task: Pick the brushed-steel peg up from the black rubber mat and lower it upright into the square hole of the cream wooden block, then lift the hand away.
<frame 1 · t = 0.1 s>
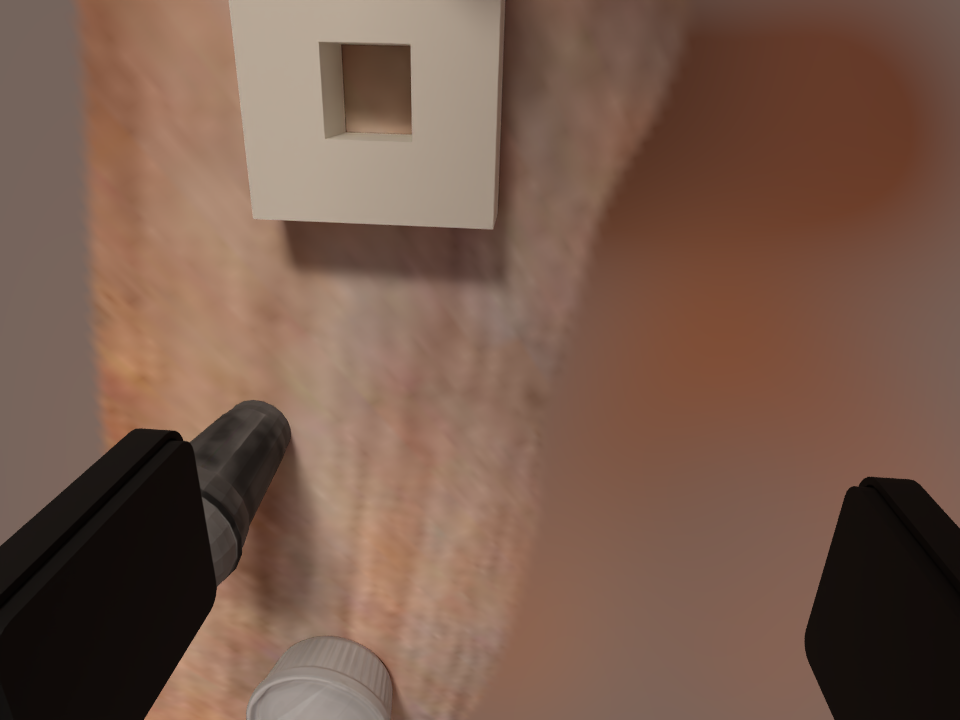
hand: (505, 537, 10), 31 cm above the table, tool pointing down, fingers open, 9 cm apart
hole block: (383, 90, 37), on the table
ramekin: (337, 672, 56), on the table
beverage cup: (259, 427, 46), on the table
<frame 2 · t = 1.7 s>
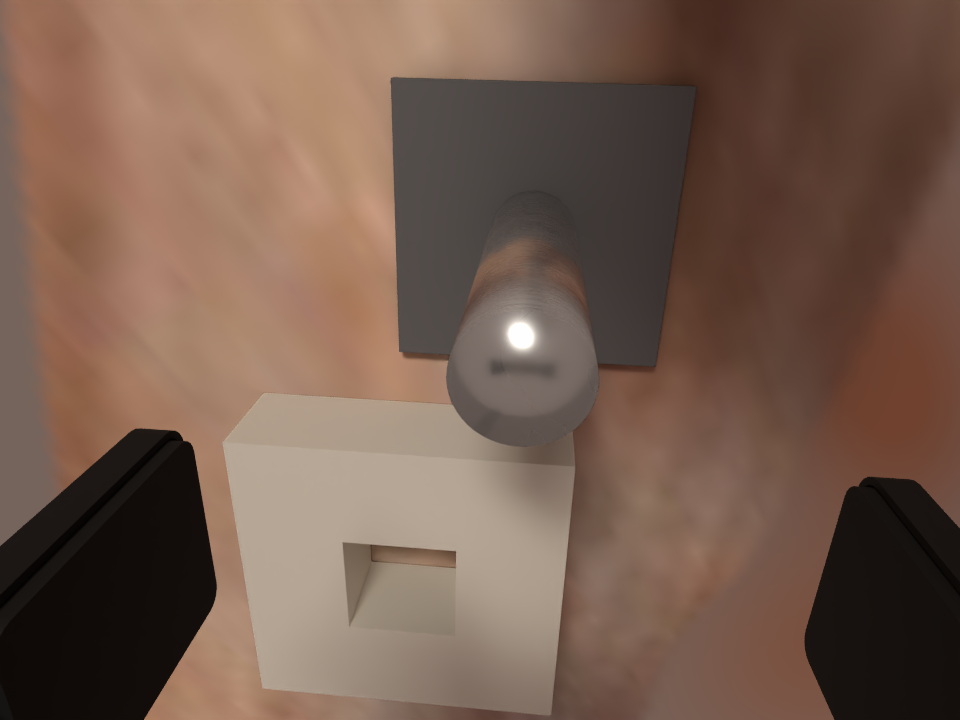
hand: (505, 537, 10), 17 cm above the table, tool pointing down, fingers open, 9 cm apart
hole block: (417, 527, 31), on the table
peg: (532, 232, 24), resting on mat
mat: (533, 229, 24), on the table
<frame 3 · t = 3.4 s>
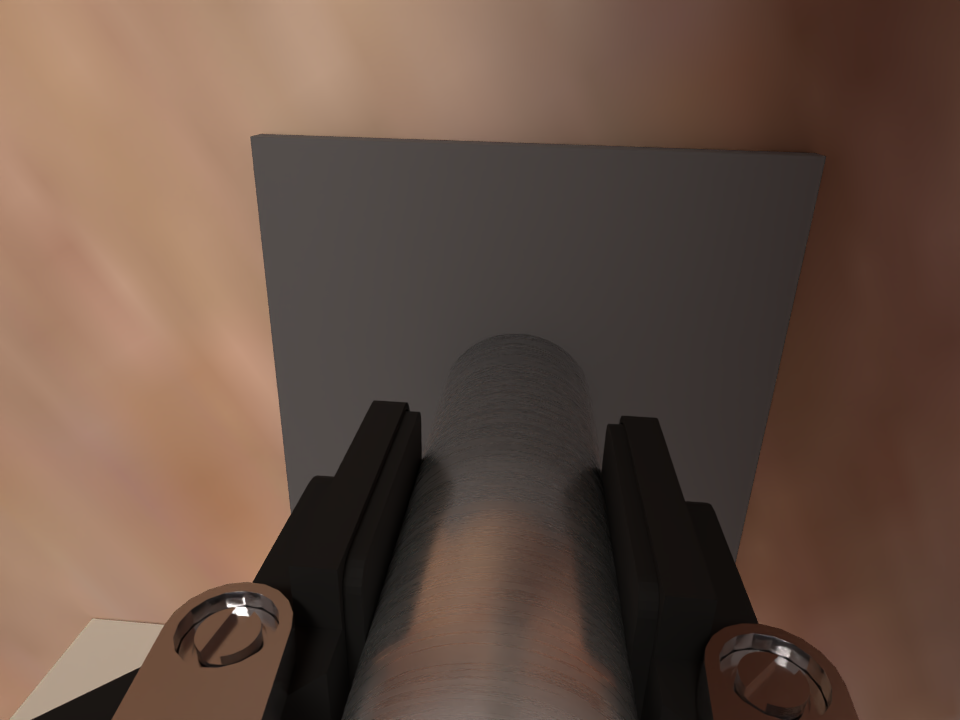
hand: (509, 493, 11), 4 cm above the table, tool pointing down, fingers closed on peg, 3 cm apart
peg: (516, 402, 14), point 1 cm above the table, touching gripper, mat
mat: (517, 391, 14), on the table
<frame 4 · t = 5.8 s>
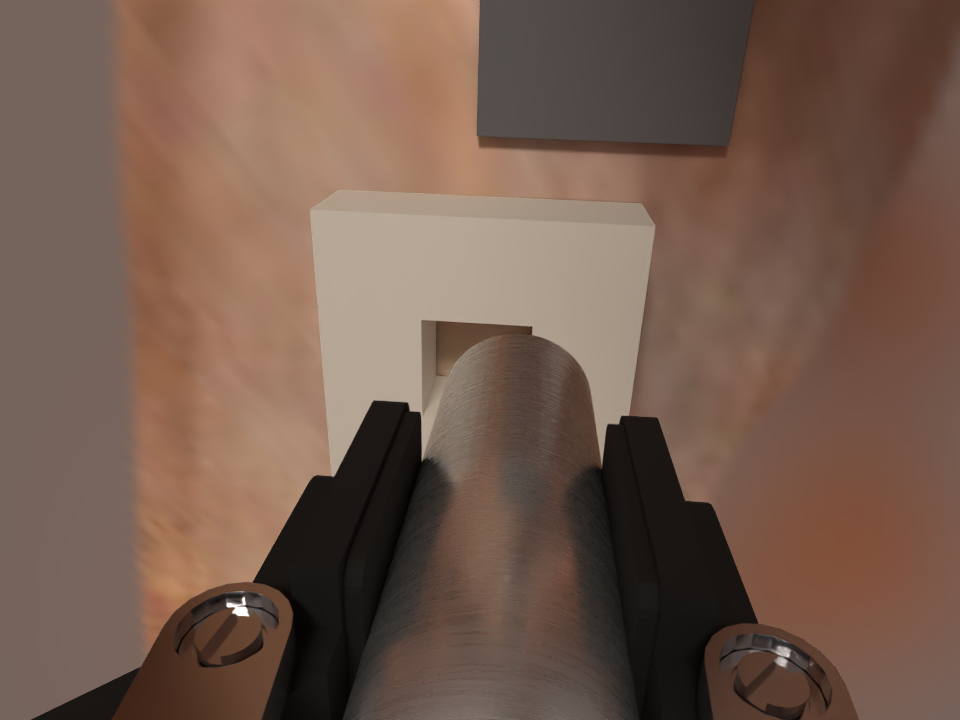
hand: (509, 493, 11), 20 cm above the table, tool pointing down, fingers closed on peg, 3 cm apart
hole block: (483, 335, 31), on the table
peg: (517, 402, 14), point 17 cm above the table, touching gripper
mat: (613, 0, 25), on the table
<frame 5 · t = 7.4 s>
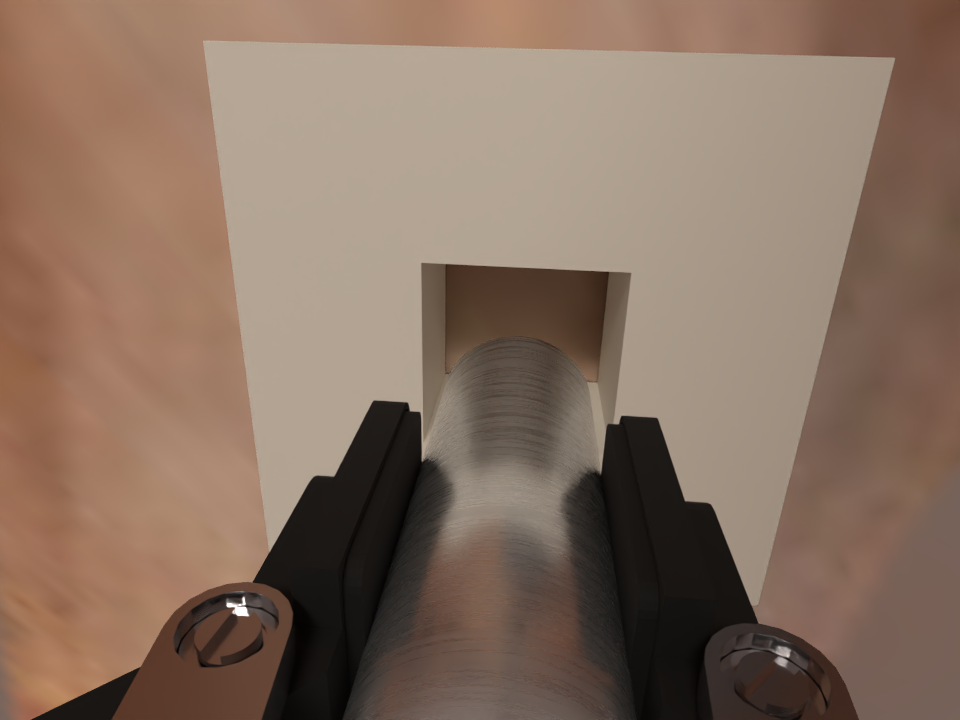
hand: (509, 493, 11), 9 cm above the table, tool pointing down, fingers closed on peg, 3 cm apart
hole block: (524, 306, 19), on the table
peg: (516, 404, 14), point 6 cm above the table, touching gripper
when the fingers open (5 cm above the table, at t = 8.4 s): peg drops 2 cm, resting in hole block.
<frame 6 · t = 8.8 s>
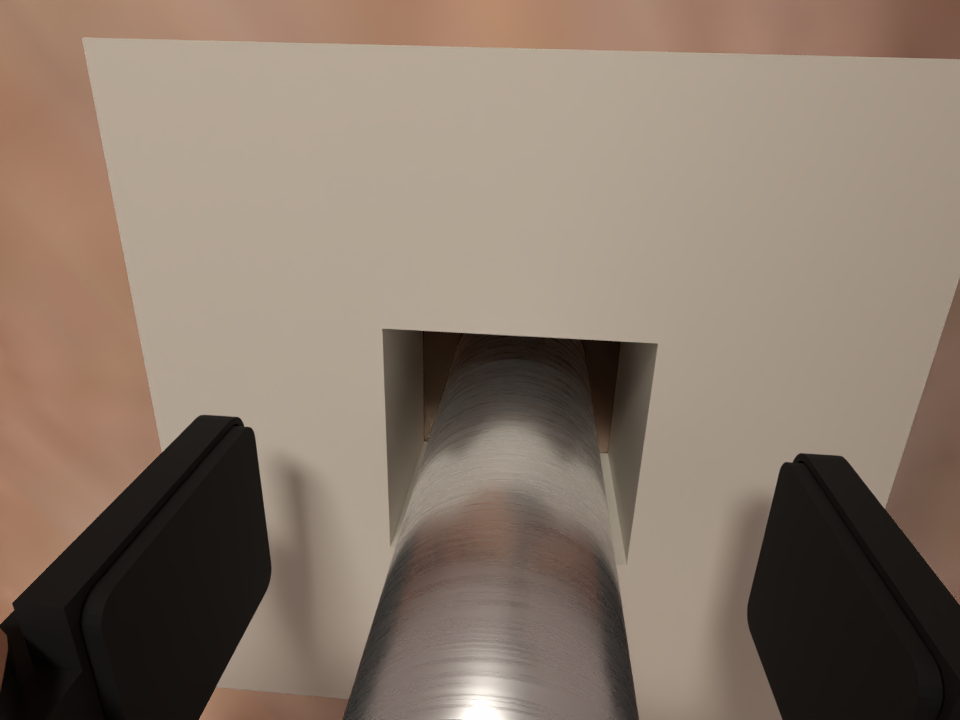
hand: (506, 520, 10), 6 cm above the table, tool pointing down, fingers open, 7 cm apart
hole block: (519, 363, 15), on the table
peg: (520, 362, 15), resting in hole block
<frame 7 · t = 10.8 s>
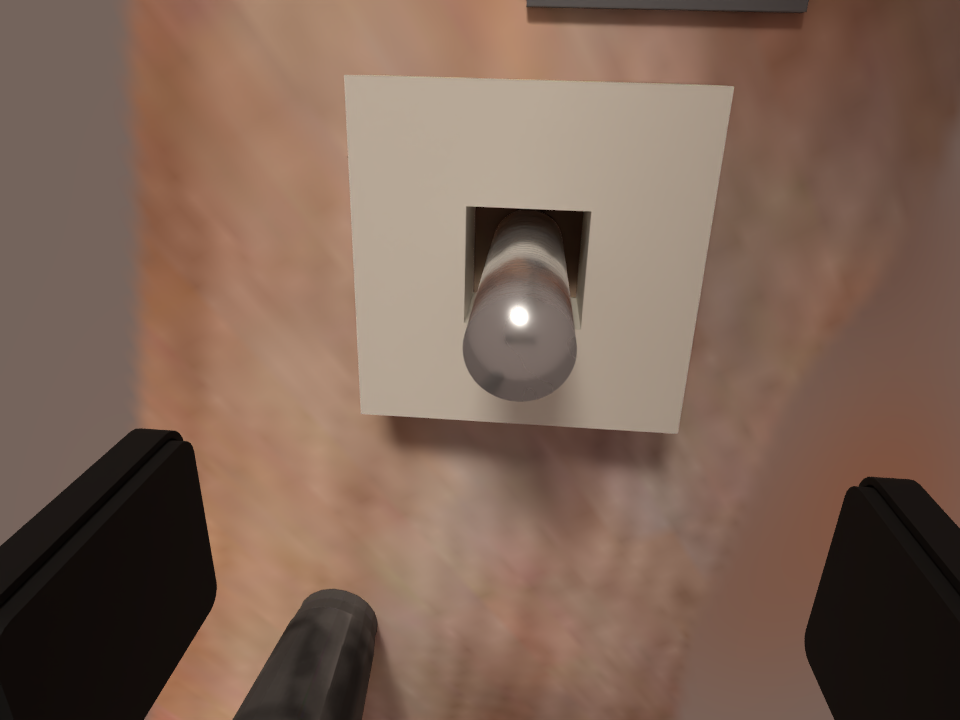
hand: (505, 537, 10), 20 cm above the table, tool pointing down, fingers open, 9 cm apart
hole block: (527, 244, 29), on the table
beverage cup: (339, 617, 38), on the table
peg: (527, 244, 29), resting in hole block
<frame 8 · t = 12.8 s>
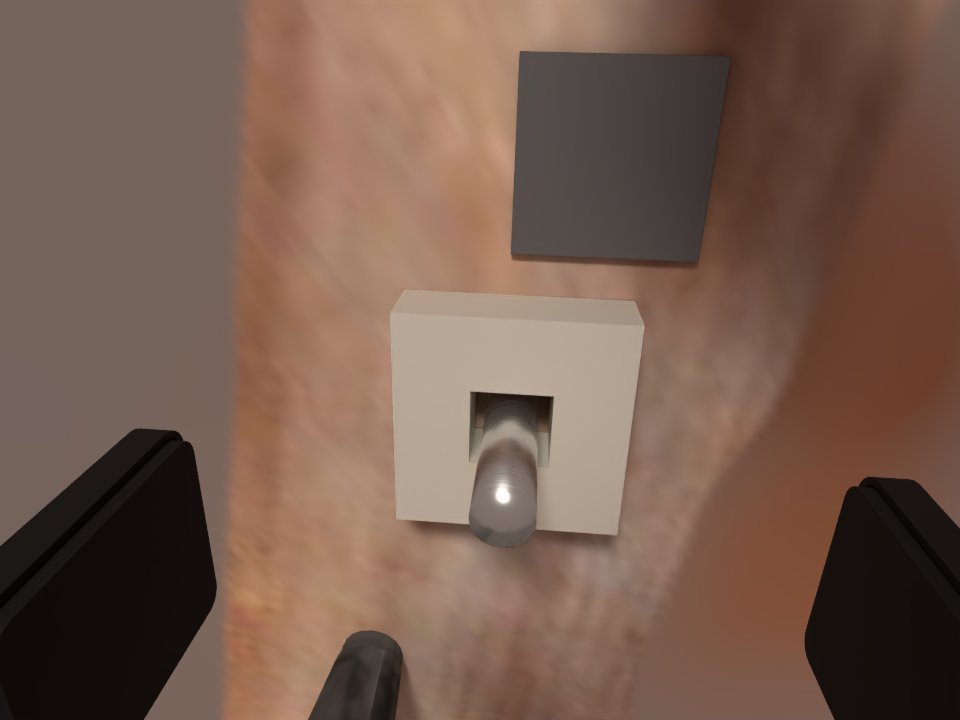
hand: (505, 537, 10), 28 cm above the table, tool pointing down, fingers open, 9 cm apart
hole block: (513, 397, 40), on the table
beverage cup: (373, 651, 50), on the table
peg: (513, 397, 40), resting in hole block
mat: (612, 160, 34), on the table
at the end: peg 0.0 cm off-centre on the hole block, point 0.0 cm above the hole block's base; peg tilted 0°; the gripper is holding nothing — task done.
